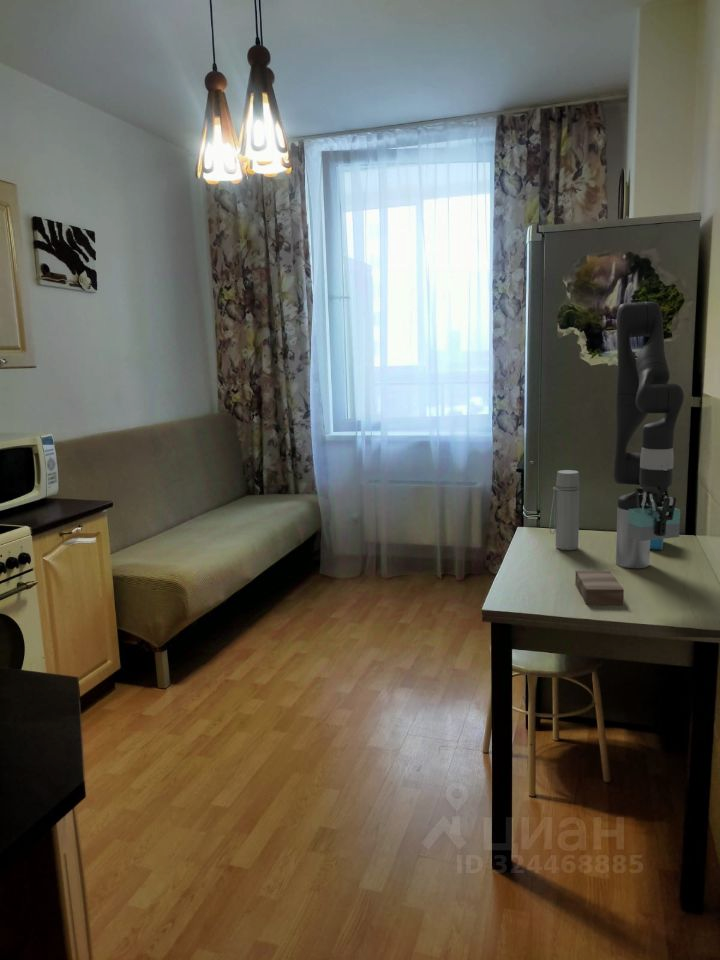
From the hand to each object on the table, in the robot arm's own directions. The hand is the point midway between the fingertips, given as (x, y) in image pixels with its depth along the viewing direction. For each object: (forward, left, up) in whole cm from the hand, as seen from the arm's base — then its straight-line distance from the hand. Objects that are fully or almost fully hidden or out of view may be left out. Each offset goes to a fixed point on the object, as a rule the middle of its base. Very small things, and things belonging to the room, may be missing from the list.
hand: (653, 532), depth 170 cm
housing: (0, 0, -1) cm, 1 cm away
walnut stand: (-3, -12, -18) cm, 22 cm away
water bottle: (-46, -14, -18) cm, 51 cm away
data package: (-49, +15, -18) cm, 54 cm away
